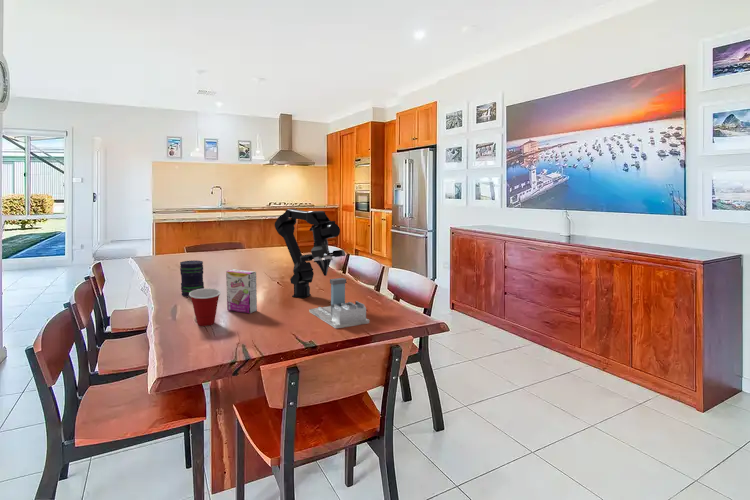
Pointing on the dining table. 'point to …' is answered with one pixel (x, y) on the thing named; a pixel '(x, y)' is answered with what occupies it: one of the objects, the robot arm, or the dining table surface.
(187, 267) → the storage jar
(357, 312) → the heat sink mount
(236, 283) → the candy bar box
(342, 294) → the light blue bar
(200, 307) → the plastic cup
